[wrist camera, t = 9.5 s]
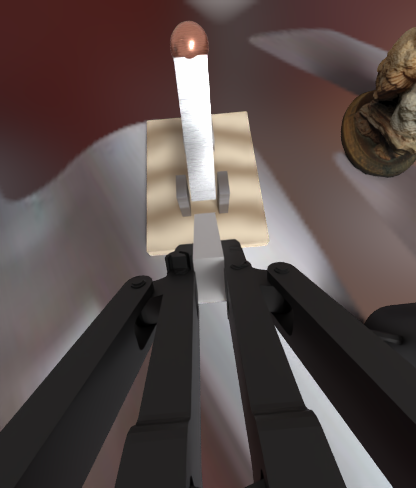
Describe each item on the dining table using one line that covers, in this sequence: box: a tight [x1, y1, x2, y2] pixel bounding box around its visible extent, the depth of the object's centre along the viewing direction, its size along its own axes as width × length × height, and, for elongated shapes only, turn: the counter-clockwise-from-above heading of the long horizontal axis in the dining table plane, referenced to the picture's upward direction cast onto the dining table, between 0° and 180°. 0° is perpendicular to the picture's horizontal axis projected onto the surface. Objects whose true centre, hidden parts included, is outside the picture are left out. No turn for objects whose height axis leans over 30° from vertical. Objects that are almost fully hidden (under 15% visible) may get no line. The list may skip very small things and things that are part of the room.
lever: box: [170, 21, 216, 201], centre depth 26 cm, size 4×4×17 cm
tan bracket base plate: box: [147, 112, 269, 256], centre depth 33 cm, size 22×16×7 cm
